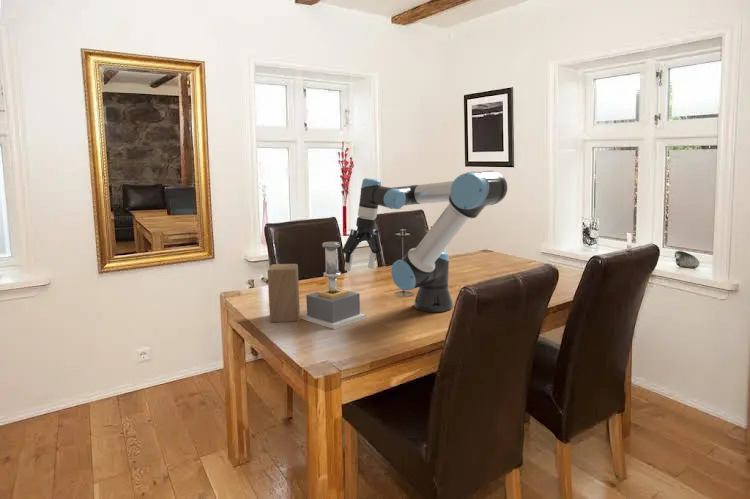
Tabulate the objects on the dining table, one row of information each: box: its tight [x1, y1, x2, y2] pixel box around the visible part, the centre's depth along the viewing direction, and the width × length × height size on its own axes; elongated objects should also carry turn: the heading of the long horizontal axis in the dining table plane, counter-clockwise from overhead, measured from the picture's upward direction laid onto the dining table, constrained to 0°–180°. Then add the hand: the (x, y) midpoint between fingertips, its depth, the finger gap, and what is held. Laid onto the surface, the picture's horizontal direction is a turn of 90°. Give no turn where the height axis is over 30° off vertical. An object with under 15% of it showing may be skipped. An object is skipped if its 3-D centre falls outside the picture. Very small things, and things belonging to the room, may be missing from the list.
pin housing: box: [301, 288, 367, 330], centre depth 198 cm, size 18×16×10 cm
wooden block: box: [267, 263, 301, 323], centre depth 199 cm, size 10×10×20 cm
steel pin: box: [322, 241, 342, 294], centre depth 196 cm, size 6×6×20 cm
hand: (359, 269), depth 214 cm, fingers open, 13 cm apart
